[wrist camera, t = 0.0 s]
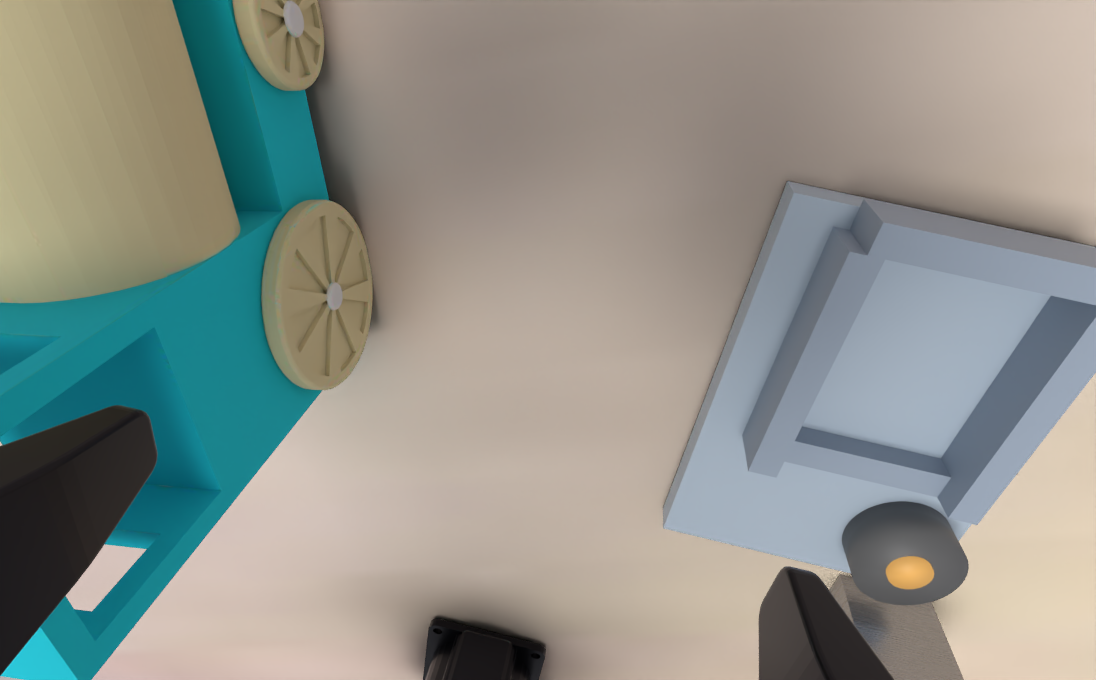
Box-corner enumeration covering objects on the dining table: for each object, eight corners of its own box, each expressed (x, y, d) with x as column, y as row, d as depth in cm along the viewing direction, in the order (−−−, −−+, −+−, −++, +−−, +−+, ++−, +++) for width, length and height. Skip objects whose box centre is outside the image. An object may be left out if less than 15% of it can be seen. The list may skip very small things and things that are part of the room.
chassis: (911, 567, 27) (938, 633, 25) (663, 507, 28) (663, 566, 25) (1144, 248, 19) (1223, 295, 17) (790, 173, 20) (810, 206, 17)
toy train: (286, -196, 17) (-784, -645, 4) (388, 331, 26) (116, 693, 13) (36, -174, 18) (-1363, -477, 6) (211, 322, 27) (-194, 646, 14)
